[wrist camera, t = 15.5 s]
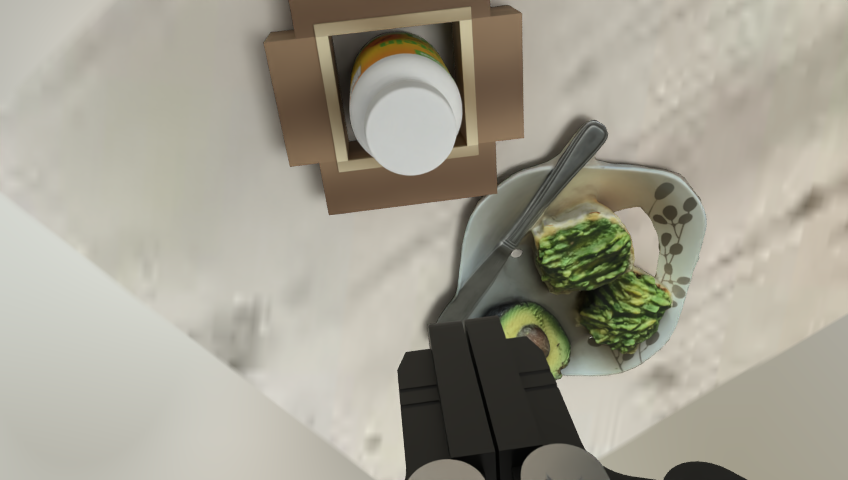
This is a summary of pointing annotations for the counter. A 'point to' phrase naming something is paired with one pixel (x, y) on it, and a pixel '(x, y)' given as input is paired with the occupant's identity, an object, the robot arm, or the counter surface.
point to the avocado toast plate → (580, 259)
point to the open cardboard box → (323, 108)
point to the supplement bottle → (404, 103)
